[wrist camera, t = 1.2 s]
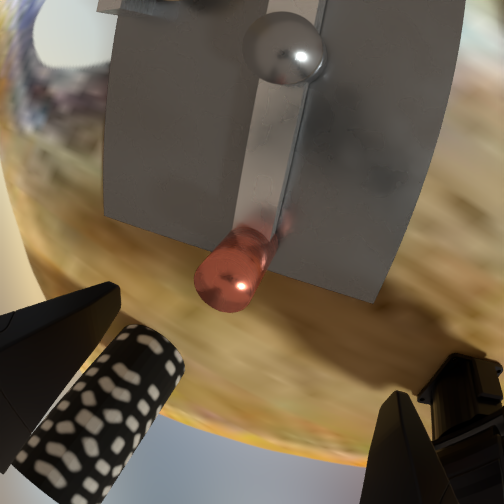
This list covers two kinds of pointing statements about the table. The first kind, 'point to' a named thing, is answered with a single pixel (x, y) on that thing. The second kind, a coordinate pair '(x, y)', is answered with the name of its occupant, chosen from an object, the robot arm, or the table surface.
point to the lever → (266, 148)
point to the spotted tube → (102, 418)
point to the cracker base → (308, 139)
